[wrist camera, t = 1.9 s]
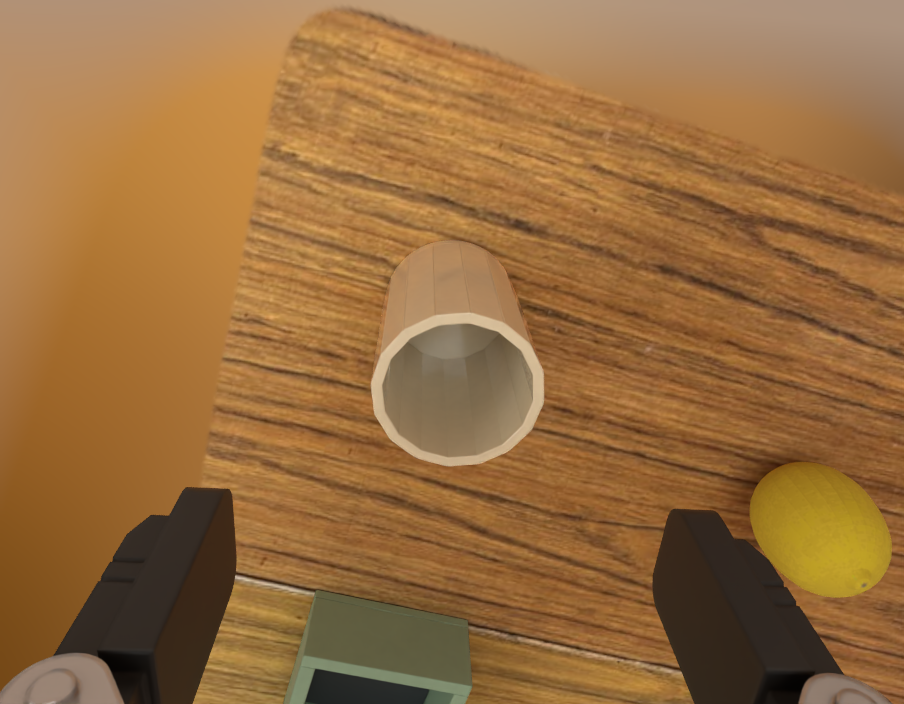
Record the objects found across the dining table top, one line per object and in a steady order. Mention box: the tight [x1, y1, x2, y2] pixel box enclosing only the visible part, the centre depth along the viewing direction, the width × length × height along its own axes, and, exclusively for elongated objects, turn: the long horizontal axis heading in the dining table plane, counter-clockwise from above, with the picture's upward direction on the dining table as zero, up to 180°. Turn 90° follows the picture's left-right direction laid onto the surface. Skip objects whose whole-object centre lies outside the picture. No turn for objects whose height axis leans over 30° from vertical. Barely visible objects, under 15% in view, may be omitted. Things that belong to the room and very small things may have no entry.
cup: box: [371, 240, 544, 466], centre depth 28 cm, size 6×6×9 cm
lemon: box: [750, 462, 892, 598], centre depth 33 cm, size 6×6×8 cm
